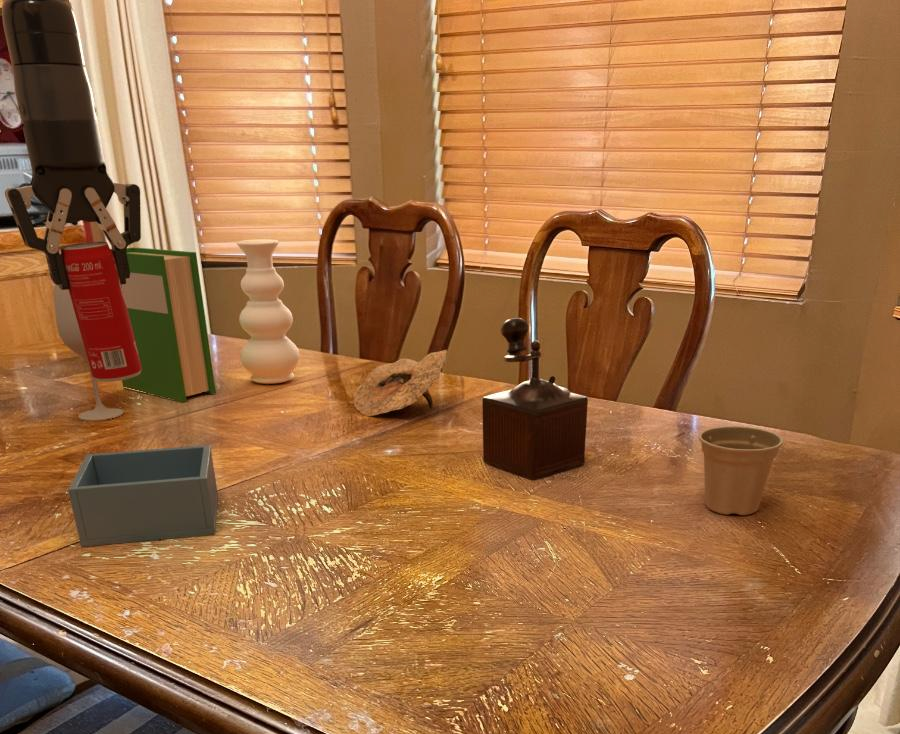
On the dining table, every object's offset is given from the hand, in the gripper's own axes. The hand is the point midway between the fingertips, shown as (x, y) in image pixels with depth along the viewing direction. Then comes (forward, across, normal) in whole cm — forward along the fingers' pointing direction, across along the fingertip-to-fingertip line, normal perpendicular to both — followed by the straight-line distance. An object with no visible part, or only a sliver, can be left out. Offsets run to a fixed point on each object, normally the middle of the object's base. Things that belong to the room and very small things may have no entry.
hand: (92, 285), depth 98 cm
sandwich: (+26, -48, -17) cm, 57 cm away
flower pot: (+26, -59, +46) cm, 79 cm away
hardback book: (+26, -20, -52) cm, 62 cm away
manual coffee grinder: (+26, -50, +17) cm, 58 cm away
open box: (+26, 0, +10) cm, 27 cm away
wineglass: (+26, -6, -43) cm, 50 cm away
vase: (+26, -39, -48) cm, 67 cm away
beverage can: (+11, 0, 0) cm, 11 cm away
